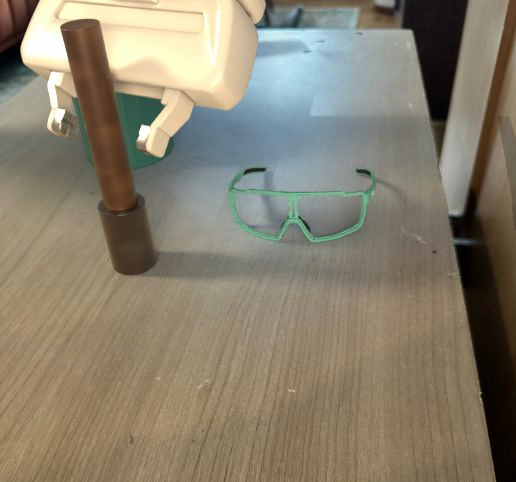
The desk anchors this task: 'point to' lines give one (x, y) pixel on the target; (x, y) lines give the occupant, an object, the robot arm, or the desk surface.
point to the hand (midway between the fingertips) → (102, 143)
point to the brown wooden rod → (108, 150)
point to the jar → (130, 126)
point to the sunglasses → (295, 196)
